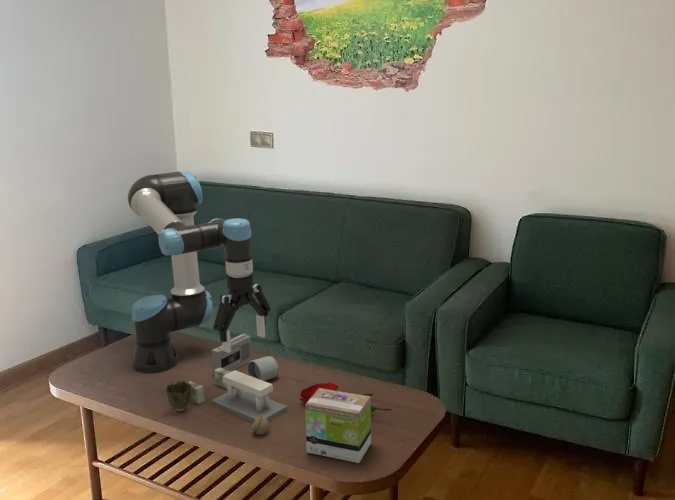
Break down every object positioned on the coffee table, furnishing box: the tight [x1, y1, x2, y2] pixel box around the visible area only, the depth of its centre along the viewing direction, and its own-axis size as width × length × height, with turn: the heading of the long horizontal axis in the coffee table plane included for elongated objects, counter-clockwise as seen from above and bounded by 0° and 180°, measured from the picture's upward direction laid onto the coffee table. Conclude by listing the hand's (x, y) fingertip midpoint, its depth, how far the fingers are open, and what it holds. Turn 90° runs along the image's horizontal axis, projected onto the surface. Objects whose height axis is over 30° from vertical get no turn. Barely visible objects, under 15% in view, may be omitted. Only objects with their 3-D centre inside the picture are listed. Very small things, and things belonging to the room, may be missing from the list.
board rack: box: [186, 368, 235, 405], centre depth 217 cm, size 6×14×5 cm, turn 140°
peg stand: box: [210, 384, 288, 424], centre depth 206 cm, size 21×11×7 cm, turn 51°
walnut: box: [251, 416, 270, 435], centre depth 193 cm, size 5×5×5 cm
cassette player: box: [211, 333, 253, 376], centre depth 234 cm, size 16×3×10 cm, turn 144°
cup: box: [165, 380, 192, 414], centre depth 206 cm, size 8×7×8 cm
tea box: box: [304, 388, 372, 464], centre depth 182 cm, size 15×10×15 cm
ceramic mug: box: [246, 355, 280, 382], centre depth 226 cm, size 11×8×8 cm
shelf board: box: [223, 369, 274, 397], centre depth 205 cm, size 16×5×2 cm, turn 51°
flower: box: [299, 382, 393, 414], centre depth 202 cm, size 9×10×30 cm
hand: (244, 343), depth 202 cm, fingers open, 13 cm apart
